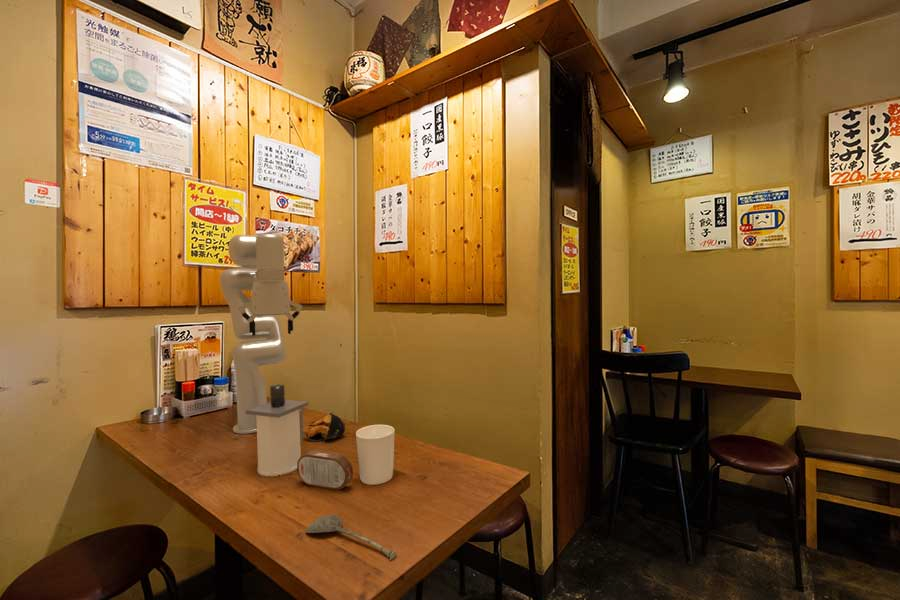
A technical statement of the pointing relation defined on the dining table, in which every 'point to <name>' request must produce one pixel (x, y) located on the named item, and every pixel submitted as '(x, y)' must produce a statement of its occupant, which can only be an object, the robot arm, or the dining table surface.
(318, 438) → the fried shrimp in bowl
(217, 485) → the dining table surface
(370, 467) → the white tapered cylinder
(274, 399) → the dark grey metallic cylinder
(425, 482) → the dining table surface
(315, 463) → the tin
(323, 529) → the soupspoon
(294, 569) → the dining table surface
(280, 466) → the white grey-topped cylinder
